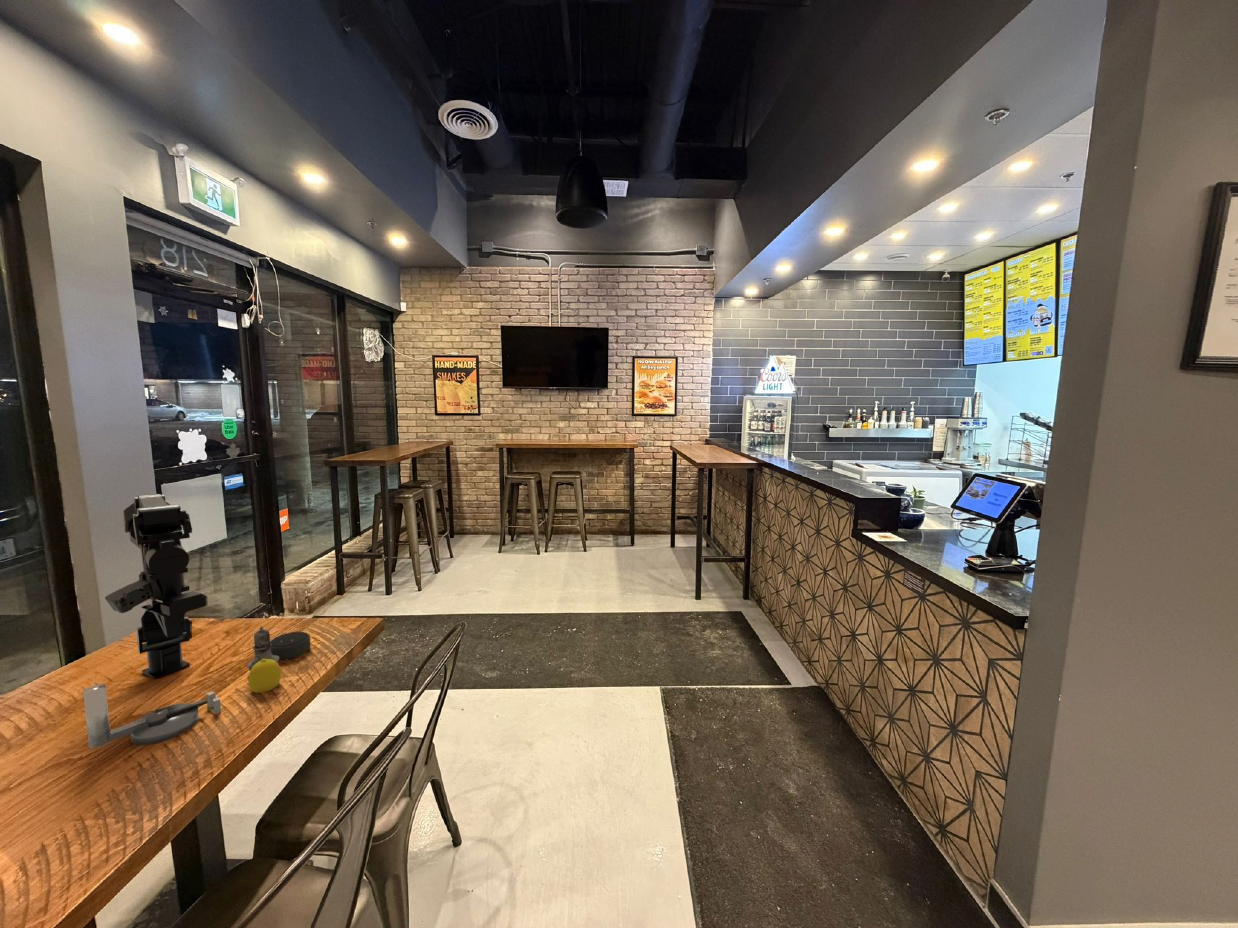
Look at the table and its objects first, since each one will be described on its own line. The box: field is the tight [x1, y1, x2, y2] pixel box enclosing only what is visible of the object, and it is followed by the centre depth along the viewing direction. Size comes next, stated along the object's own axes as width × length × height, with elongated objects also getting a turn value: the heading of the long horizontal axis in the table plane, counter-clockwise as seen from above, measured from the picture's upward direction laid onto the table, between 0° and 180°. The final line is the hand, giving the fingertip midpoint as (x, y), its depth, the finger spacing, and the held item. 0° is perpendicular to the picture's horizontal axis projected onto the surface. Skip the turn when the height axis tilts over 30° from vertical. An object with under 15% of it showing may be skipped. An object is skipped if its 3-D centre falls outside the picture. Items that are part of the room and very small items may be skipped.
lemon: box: [247, 659, 282, 694], centre depth 98 cm, size 6×6×8 cm
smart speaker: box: [270, 631, 312, 662], centre depth 116 cm, size 9×9×4 cm
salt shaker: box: [247, 626, 279, 672], centre depth 105 cm, size 6×6×12 cm
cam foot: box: [83, 683, 207, 749], centre depth 84 cm, size 13×11×12 cm
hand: (170, 635), depth 97 cm, fingers closed
